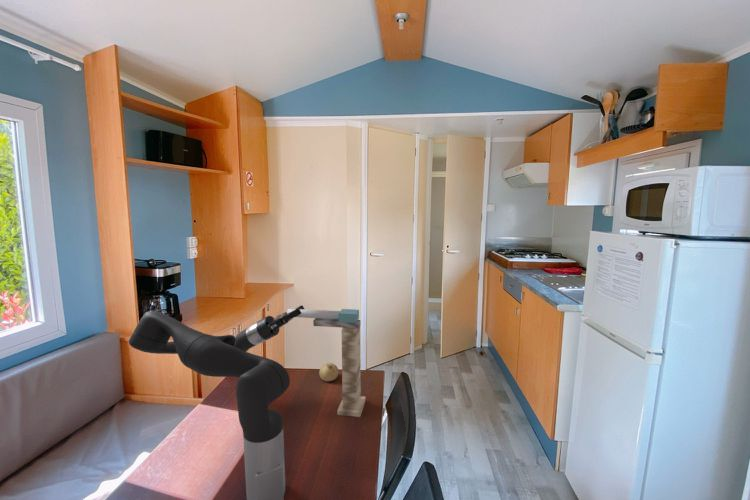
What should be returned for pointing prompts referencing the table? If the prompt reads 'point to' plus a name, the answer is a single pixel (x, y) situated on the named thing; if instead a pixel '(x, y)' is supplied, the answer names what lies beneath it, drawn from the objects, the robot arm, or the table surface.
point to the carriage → (330, 314)
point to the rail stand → (348, 366)
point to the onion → (328, 372)
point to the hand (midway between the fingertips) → (301, 309)
